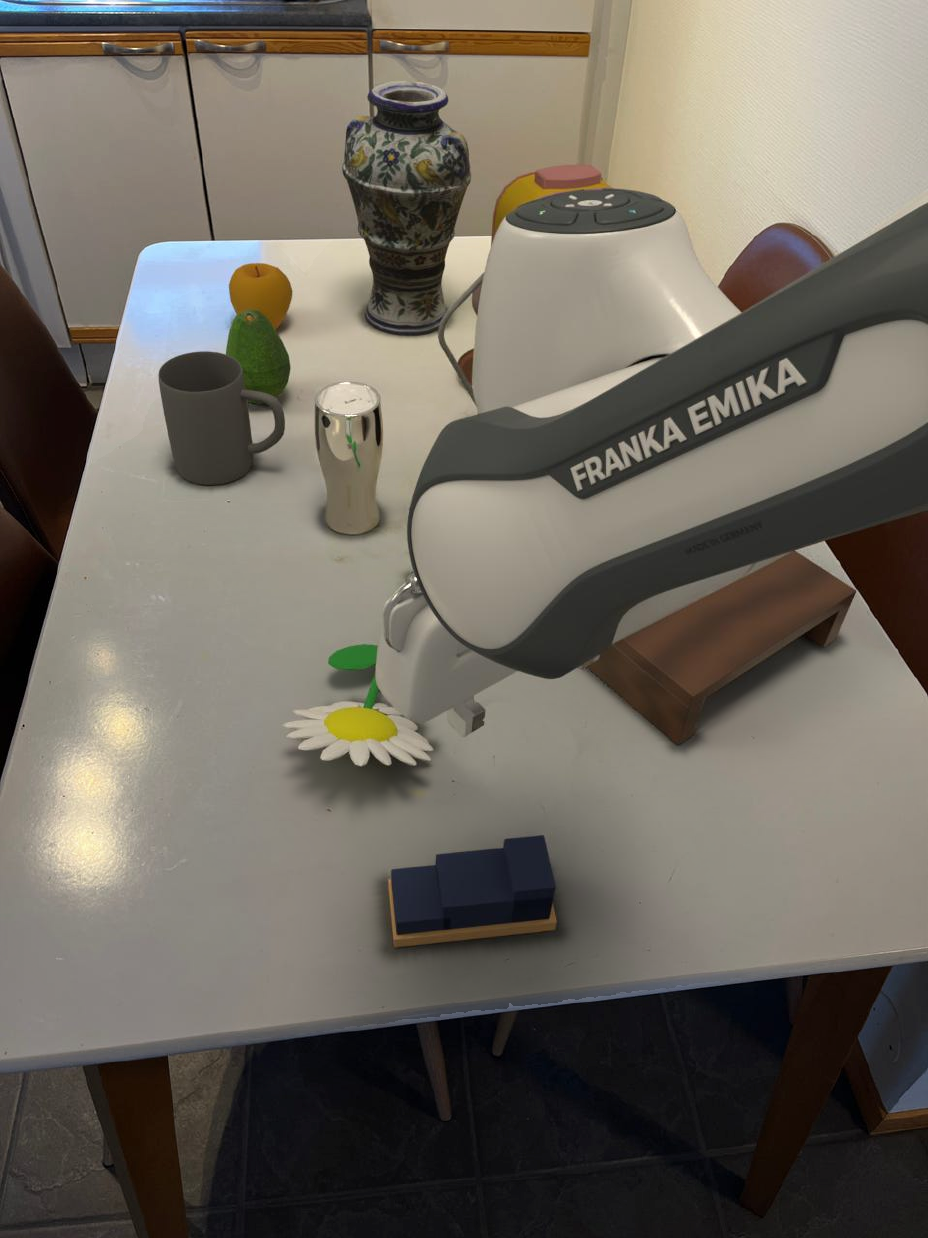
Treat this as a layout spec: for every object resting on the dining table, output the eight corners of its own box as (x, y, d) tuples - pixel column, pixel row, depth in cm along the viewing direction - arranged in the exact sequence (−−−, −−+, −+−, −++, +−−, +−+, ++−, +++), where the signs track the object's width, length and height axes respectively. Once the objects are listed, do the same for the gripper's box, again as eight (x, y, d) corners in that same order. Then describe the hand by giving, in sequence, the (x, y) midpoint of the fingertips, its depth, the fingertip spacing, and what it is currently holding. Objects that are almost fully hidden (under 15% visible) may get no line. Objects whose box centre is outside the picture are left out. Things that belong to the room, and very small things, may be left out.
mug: (161, 480, 110) (142, 386, 102) (192, 437, 117) (177, 345, 108) (276, 498, 109) (266, 404, 100) (301, 453, 115) (294, 362, 107)
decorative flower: (352, 586, 102) (263, 790, 77) (355, 547, 99) (263, 747, 75) (471, 608, 101) (418, 822, 77) (477, 570, 98) (424, 779, 74)
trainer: (542, 871, 75) (549, 830, 72) (555, 930, 72) (564, 890, 68) (388, 887, 74) (387, 845, 70) (394, 948, 70) (393, 908, 66)
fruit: (217, 402, 122) (204, 313, 114) (259, 377, 127) (250, 290, 119) (264, 423, 119) (254, 333, 111) (306, 397, 124) (299, 308, 116)
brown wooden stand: (835, 639, 96) (857, 590, 92) (677, 746, 85) (693, 696, 81) (693, 540, 107) (705, 492, 102) (536, 623, 96) (542, 574, 91)
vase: (369, 282, 149) (364, 65, 129) (477, 300, 147) (489, 81, 126) (330, 330, 138) (318, 100, 117) (447, 351, 135) (455, 118, 114)
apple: (296, 313, 141) (292, 253, 135) (292, 341, 135) (287, 280, 129) (237, 312, 140) (230, 252, 134) (230, 340, 134) (222, 279, 128)
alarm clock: (512, 328, 141) (523, 191, 127) (483, 295, 148) (491, 162, 135) (624, 311, 146) (646, 178, 133) (591, 281, 153) (609, 152, 140)
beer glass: (312, 531, 105) (302, 410, 94) (332, 494, 110) (325, 375, 99) (374, 542, 104) (371, 421, 93) (391, 504, 109) (391, 386, 98)
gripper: (423, 627, 44) (419, 807, 53) (722, 477, 53) (673, 653, 63) (347, 553, 47) (355, 735, 57) (640, 426, 57) (606, 599, 66)
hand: (525, 691), depth 60 cm, fingers open, 8 cm apart
